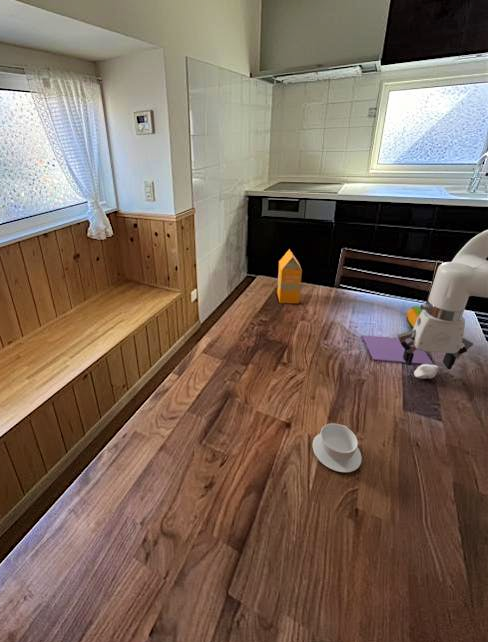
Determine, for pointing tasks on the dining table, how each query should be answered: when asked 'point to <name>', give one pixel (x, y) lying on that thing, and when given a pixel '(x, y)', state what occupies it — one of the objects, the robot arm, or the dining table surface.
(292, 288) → the orange juice
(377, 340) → the cloth
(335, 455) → the teacup
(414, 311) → the corn
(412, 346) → the robot arm
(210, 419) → the dining table surface
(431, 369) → the dumpling
